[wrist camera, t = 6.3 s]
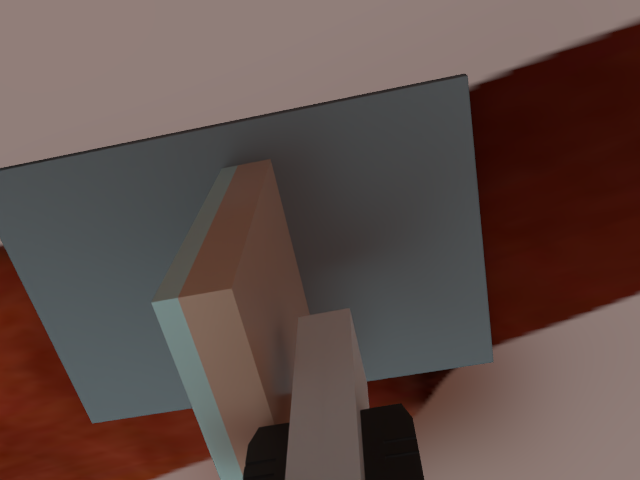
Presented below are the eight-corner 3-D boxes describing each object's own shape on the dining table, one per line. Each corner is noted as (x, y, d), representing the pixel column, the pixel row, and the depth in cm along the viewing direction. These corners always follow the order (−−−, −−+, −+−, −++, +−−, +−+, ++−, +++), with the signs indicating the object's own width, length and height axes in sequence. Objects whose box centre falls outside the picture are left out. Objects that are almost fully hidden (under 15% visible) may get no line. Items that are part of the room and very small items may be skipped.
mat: (95, 416, 26) (92, 423, 26) (-25, 173, 21) (-31, 176, 21) (491, 356, 24) (493, 362, 24) (464, 73, 19) (467, 75, 19)
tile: (279, 366, 24) (255, 568, 16) (221, 168, 20) (150, 302, 12) (321, 359, 24) (317, 561, 16) (270, 158, 20) (231, 288, 12)
